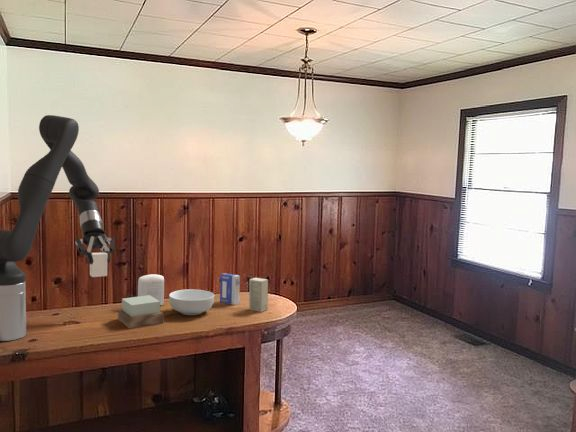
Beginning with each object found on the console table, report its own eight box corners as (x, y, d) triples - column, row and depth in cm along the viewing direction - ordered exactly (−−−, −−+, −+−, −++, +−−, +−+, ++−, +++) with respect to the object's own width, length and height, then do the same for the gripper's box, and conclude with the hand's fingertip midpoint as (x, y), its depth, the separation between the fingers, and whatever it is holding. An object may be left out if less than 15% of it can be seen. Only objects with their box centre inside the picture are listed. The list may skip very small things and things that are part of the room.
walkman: (219, 302, 201) (220, 273, 200) (223, 300, 203) (224, 272, 202) (235, 305, 197) (236, 275, 196) (239, 303, 199) (240, 274, 198)
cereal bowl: (198, 321, 174) (198, 302, 174) (159, 315, 180) (159, 296, 180) (222, 309, 190) (222, 292, 189) (185, 304, 196) (185, 286, 195)
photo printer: (161, 302, 197) (162, 272, 196) (165, 305, 193) (165, 274, 192) (136, 305, 191) (136, 274, 190) (139, 308, 188) (139, 276, 186)
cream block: (92, 277, 171) (92, 254, 171) (89, 274, 175) (89, 252, 174) (107, 275, 174) (107, 253, 174) (104, 273, 178) (104, 252, 177)
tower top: (131, 316, 165) (131, 305, 165) (121, 309, 173) (122, 298, 173) (159, 312, 171) (160, 301, 171) (149, 305, 179) (149, 295, 179)
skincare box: (267, 309, 192) (268, 279, 191) (261, 312, 188) (262, 281, 187) (254, 307, 195) (255, 277, 194) (248, 309, 192) (249, 278, 190)
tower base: (128, 329, 164) (129, 318, 164) (118, 320, 174) (118, 309, 174) (163, 324, 171) (163, 313, 171) (151, 315, 181) (151, 304, 181)
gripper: (72, 219, 175) (80, 257, 166) (113, 218, 183) (123, 255, 174) (69, 232, 180) (76, 270, 171) (109, 230, 188) (118, 267, 179)
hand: (100, 262), depth 173 cm, fingers closed on cream block, 5 cm apart
